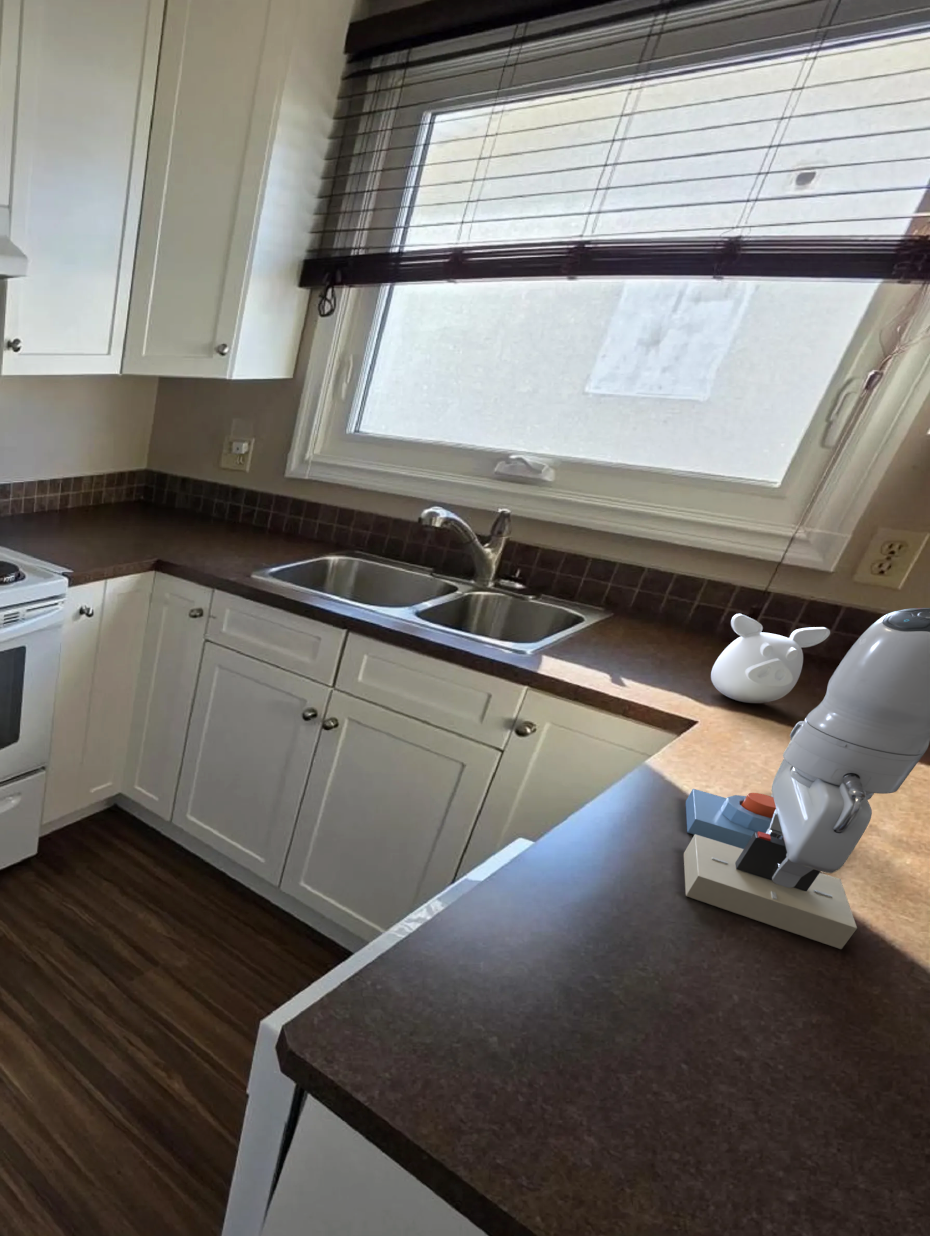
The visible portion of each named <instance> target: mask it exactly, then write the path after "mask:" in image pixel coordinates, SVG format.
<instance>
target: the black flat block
mask: <svg viewBox="0 0 930 1236" xmlns="http://www.w3.org/2000/svg"><path fill="white" fill-rule="evenodd" d="M786 854H787V850H786V846H785V842H784V840H781V839H778V838H774V837H771V836H770V834H766V833H763V832H760V831H758V832H754V834H753V835H752V837H751V839H750V840H749V842H748V843H747V845H746V846H745V848H744V850H743V851H742V853H741V854H740V856H739V858H738V859H737V861H736V862H735V865H736V869H738V870H741V871H744V872H747V873H750V874H753V875H756V876H759V877H762V878H766V879H769V880H772V872H773V871H774V869H775V867H776V866H777V864H778V863H779V864H781V863H782V862H783V861H784V860H785V858H786ZM819 873H822V871H818V870H815V869H813V870H812V871H810V872H809V873H807V874H805V875H804V876H802V877H801V878H800V880H799V881H798V882H797V884H796V885H795V886H794V888H797V889H800V890H803V891H807V890H808V889H809V887H810V886H811V885H812V883H813V882H814V880H815V879H816V877H817V876H818V875H819ZM772 881H773V880H772Z"/></svg>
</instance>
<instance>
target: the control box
mask: <svg viewBox="0 0 930 1236" xmlns="http://www.w3.org/2000/svg"><path fill="white" fill-rule="evenodd" d="M743 850H744V849H741V848H738V847H735V846H732V845H728V844H725V843H722V842H719V841H716V840H712V839H709V838H706V837H703V836H699V835H696V834H695V835H694V834H693V837H692V838H691V840H690V842H689V844H688V845H687V847H686V849H685V850H684V852H683V863H684V864H683V868H684V888H685V897H688V898H690V899H693V900H696V901H698V902H701V903H705V904H707V905H710V906H713V907H716V908H720V909H722V910H725V911H729V912H731V913H734V914H736V915H740V916H743V917H746V918H748V919H752V920H754V921H758V922H761V923H763V924H766V925H769V926H772V927H775V928H778V929H781V930H784V931H786V932H790V933H792V934H795V935H798V936H801V937H804V938H807V939H809V940H812V941H815V942H818V943H822V944H825V945H828V946H831V947H833V948H835V949H839V950H842V949H843V948H844V947H845V945H846V944H847V943H848V941H849V940H850V939H851V937H852V936H853V935H854V933H855V932H856V931H857V929H858V927H857V923H856V921H855V917H854V914H853V912H852V909H851V905H850V903H849V900H848V897H847V893H846V891H845V889H844V885H843V882H842V879H841V878H838V877H836V876H832V875H829V874H827V873H823V872H820V873H819V875H818V876H817V877H816V879H815V880H814V882H813V883H812V885H811V886H810V887H809V889H808V890H807V891H803V890H800V889H797V888H794V887H792V888H787V887H784V886H781V885H778V884H775V883H774V882H773V881H772V880H769V879H766V878H762V877H759V876H756V875H753V874H750V873H747V872H744V871H741V870H738V869H736V865H735V862H736V861H737V859H738V858H739V856H740V854H741V853H742V851H743Z"/></svg>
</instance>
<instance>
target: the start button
mask: <svg viewBox="0 0 930 1236" xmlns="http://www.w3.org/2000/svg"><path fill="white" fill-rule="evenodd" d="M745 796H746V798H745V800H744V801H743V803H742V805H741V806H742V807H744V808H745V809H746V810H748V811H751V812H753V813H755V814H758V815H761V816H765V817H768V818H772V817H773V814H774V811H775V809H776V806H775V802H774V798H773V797H771V796H770V795H767V794H764V793H759V792H749V793H747V794H746V795H745Z"/></svg>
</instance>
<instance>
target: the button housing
mask: <svg viewBox="0 0 930 1236" xmlns="http://www.w3.org/2000/svg"><path fill="white" fill-rule="evenodd" d="M746 796H747V795H739V794H735V795H730V796H727V797H724V796H720V795H717V794H714V793H710V792H706V791H703V790H700V789H696V788H692V789H691V792H690V793H689V795H688V797H687V798H686V800H685V815H686V832H687V834H690V835H693V836H694V835H695V834H696V835H699V836H703V837H706V838H709V839H712V840H716V841H719V842H722V843H725V844H728V845H732V846H735V847H738V848H741V849H744V848H745V846H746V845H747V843H748V842H749V840H750V839H751V837H752V835H753V834H754V832H758V831H760V832H763V833H766V831H767V830H768V828H769V827H770V823H771V820H772V818H768V817H765V816H761V815H758V814H755V813H753V812H751V811H748V810H746V809H745V808H744V807H742V806H741V805H742V803H743V801H744V800H745V798H746Z"/></svg>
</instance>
